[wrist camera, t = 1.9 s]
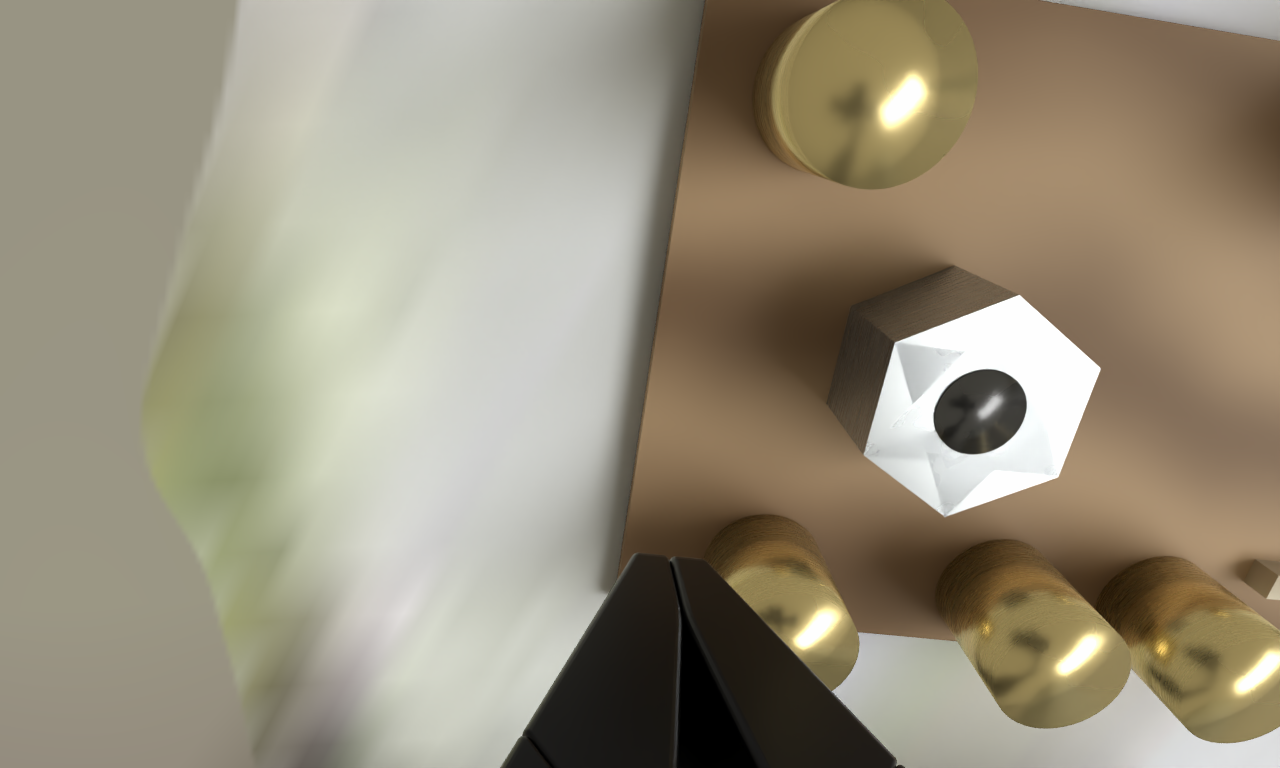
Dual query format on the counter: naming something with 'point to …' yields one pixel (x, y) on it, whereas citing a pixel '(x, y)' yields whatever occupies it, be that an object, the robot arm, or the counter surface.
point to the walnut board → (1007, 256)
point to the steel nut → (959, 389)
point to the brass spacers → (999, 569)
